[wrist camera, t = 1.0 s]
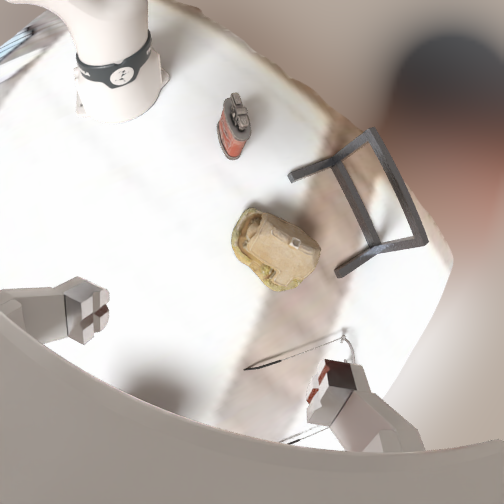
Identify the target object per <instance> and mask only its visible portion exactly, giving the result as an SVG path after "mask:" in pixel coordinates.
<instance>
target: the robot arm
mask: <svg viewBox="0 0 504 504" xmlns="http://www.w3.org/2000/svg"><path fill="white" fill-rule="evenodd" d="M5 1H7V2H10V3H13V4H33V5H37V6H41V7H43V8H46V9H48V10H50V11H51V12H53V13H55V14H56V15H57V16H59V17H60V18H61V19H62V20H63V22H64V23H65V24H66V26H67V28H68V30H69V32H70V34H71V37H72V39H73V42H74V45H75V47H76V50H77V53H76V59H77V65H78V67H76V68H74V76H75V84H76V86H77V101H76V113H77V115H78V116H79V117H90V118H93V119H95V120H97V121H99V122H102V123H107V124H117V123H123V122H127V121H130V120H132V119H135V118H137V117H138V116H140V115H142V114H143V113H145V112H146V111H147V110H148V109H149V108H150V107H151V106H152V105H153V104H154V102H155V101H156V99H157V97H158V95H159V92H160V90H161V88H162V87H163V86H164V85H165V84H166V83H167V82H168V81H169V75H168V73H167V72H166V71H165V70H164V69H163V68H162V67H161V64H160V55H159V53H157V52H156V51H155V50H154V49H153V48H151V46H152V39H151V34H150V31H149V30H148V1H147V0H5ZM82 105H83V106H82ZM81 106H82V107H81ZM108 302H109V292H108V290H107V289H105V288H103V287H101V286H98V285H96V284H94V283H92V282H90V281H88V280H86V279H83V278H81V277H75V278H73V279H71V280H69V281H67V282H65V283H63V284H61V285H59V286H57V287H55V288H51V287H42V288H21V289H2V290H0V504H504V441H502V440H499V439H497V440H491V441H487V442H482V443H477V444H472V445H467V446H461V447H454V448H447V449H439V450H429V451H425V448H424V445H423V443H422V440H421V437H420V435H419V432H418V430H417V429H416V428H415V427H414V426H413V425H411V424H410V423H409V422H408V421H407V420H405V419H404V418H403V417H402V416H401V415H399V414H398V413H397V412H396V411H395V410H394V409H393V408H391V407H390V406H389V405H388V404H387V403H386V402H384V401H383V400H382V399H381V398H380V397H379V396H377V395H376V394H375V393H371V390H370V387H369V384H368V381H367V378H366V375H365V372H364V369H363V367H362V366H361V365H358V364H351V363H344V362H339V361H333V360H328V359H321V361H320V362H319V364H318V366H317V374H316V375H314V376H313V377H312V378H311V380H310V383H309V385H308V389H307V394H306V401H307V402H308V403H309V406H308V408H307V423H311V424H317V425H323V426H329V428H330V429H331V431H332V432H333V434H334V435H335V436H336V438H337V439H338V441H339V442H340V444H341V445H342V446H343V448H344V449H345V451H336V450H326V449H316V448H308V447H301V446H295V445H289V444H283V443H278V442H272V441H268V440H263V439H258V438H254V437H250V436H246V435H242V434H238V433H234V432H230V431H227V430H223V429H220V428H216V427H213V426H210V425H207V424H203V423H200V422H197V421H194V420H191V419H189V418H186V417H183V416H180V415H177V414H175V413H172V412H170V411H167V410H164V409H162V408H159V407H157V406H155V405H152V404H150V403H147V402H145V401H143V400H141V399H138V398H136V397H134V396H132V395H130V394H128V393H125V392H123V391H121V390H119V389H117V388H115V387H113V386H111V385H109V384H107V383H106V382H104V381H102V380H100V379H98V378H96V377H94V376H93V375H91V374H89V373H87V372H86V371H84V370H82V369H80V368H79V367H77V366H75V365H74V364H72V363H70V362H69V361H67V360H66V359H64V358H63V357H61V356H59V355H58V354H56V353H55V352H53V351H52V350H50V349H49V348H47V347H46V346H45V345H43V344H45V343H49V342H52V341H56V340H60V339H63V338H67V337H70V338H72V339H74V340H75V341H77V342H79V343H81V344H83V345H85V344H86V343H87V342H88V341H90V340H91V339H92V338H93V337H94V333H95V332H100V331H102V330H103V329H104V328H105V326H106V324H107V322H108V319H109V309H108V307H107V305H106V304H107V303H108Z"/></svg>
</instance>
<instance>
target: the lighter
mask: <svg viewBox="0 0 504 504" xmlns="http://www.w3.org/2000/svg"><path fill="white" fill-rule="evenodd" d="M217 134H218V139H219V143H220V145H221V148H222V150H223V152H224V154H225V156H226V157H227V158H228V159H229V160H236V159H238V158H239V157H240V155H241V150H242V149H243V147H244V145H245V143H246V141H247V140H248V139H249V138H250V136H251V128H250V122H249V118H248V115H247V109H246V108H245V107H243V105H242V102H241V99H240V96H239V94H238V93H232V94H231V97H230V98H227V99H226V100H225V101H224V104H223V112H222V115H221V118H220V121H219V122H218V124H217Z"/></svg>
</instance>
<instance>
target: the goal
mask: <svg viewBox="0 0 504 504" xmlns="http://www.w3.org/2000/svg"><path fill="white" fill-rule="evenodd" d="M367 143H370V145H371V146H372V148H373V150H374V152H375V154H376V156H377V157H378V159H379V161H380V163H381V165H382V167H383V169H384V171H385V173H386V175H387V177H388V179H389V181H390V183H391V185H392V187H393V189H394V191H395V193H396V195H397V198H398V200H399V202H400V204H401V207H402V209H403V211H404V213H405V216H406V218H407V221H408V223H409V225H410V228H411V230H412V233H413V235H414V236H411V237H407V238H402V239H397V240H393V241H388V242H383V243H381V242H380V240H379V237H378V235H377V233H376V230H375V228H374V226H373V224H372V222H371V219H370V217H369V215H368V213H367V211H366V209H365V206H364V204H363V202H362V200H361V198H360V196H359V194H358V192H357V190H356V188H355V186H354V184H353V182H352V180H351V178H350V176H349V174H348V173H347V171H346V169H345V167H344V165H343V163H342V161H343V160H345V159H346V158H348V157H349V156H350V155H352V154H353V153H355V152H356V151H357V150H359V149H360V148H362V147H363V146H364V145H366V144H367ZM329 168H331V169H332V171H333V172H334V174H335V176H336V178H337V180H338V182H339V184H340V186H341V188H342V190H343V192H344V194H345V196H346V198H347V200H348V202H349V204H350V206H351V208H352V210H353V212H354V214H355V216H356V218H357V221H358V223H359V225H360V227H361V229H362V232H363V234H364V236H365V238H366V241H367V243H368V245H369V247H370V248H368V249H367V250H365V251H364V252H362V253H361V254H359V255H358V256H356V257H355V258H353V259H351V260H350V261H348V262H347V263H345V264H344V265H342V266H340V267H339V268H337V269H336V270H334V272H335V274H336V276H337V278H342V277H344V276H346V275H347V274H349V273H350V272H352V271H353V270H355V269H356V268H357V267H359V266H360V265H362V264H363V263H365V262H366V261H368V260H369V259H371V258H372V257H373V256H375V255H376V254H379V253H385V252H391V251H397V250H403V249H409V248H415V247H421V246H425V245H426V244H427V243H428V242H429V241H428V238H427V235H426V232H425V230H424V227H423V225H422V222H421V220H420V217H419V215H418V212H417V210H416V207H415V205H414V203H413V201H412V198H411V196H410V194H409V192H408V189H407V187H406V185H405V183H404V181H403V179H402V177H401V175H400V173H399V171H398V169H397V167H396V165H395V163H394V161H393V159H392V157H391V155H390V153H389V152H388V150H387V148H386V146H385V144H384V142H383V141H382V139H381V137H380V135H379V134H378V132H377V131H376V129H375V127H372V128H369V129H368V130H366V131H365V132H363V133H362V134H361V135H360V136H358V137H357V138H356V139H354V140H353V141H352V142H351V143H349V144H348V145H347V146H345V147H344V148H343V149H342V150H340V151H339V152H338V153H336V154H335V155H334V156H333V157H331V158H329V159H326V160H324V161H321V162H318V163H315V164H313V165H310V166H307V167H305V168H302V169H299V170H297V171H294V172H291V173H290V174H289V175H288V178H289V180H290V182H291V183H293V182H296V181H298V180H301V179H303V178H306V177H308V176H311V175H313V174H316V173H318V172H321V171H323V170H326V169H329Z"/></svg>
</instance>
